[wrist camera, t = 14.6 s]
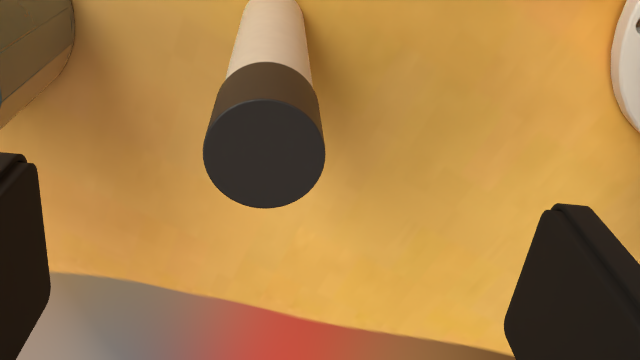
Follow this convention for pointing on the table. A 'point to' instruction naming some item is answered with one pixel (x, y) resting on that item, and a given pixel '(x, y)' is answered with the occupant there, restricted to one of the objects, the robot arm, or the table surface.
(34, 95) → the pen holder
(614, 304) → the robot arm
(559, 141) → the table surface
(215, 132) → the marker
